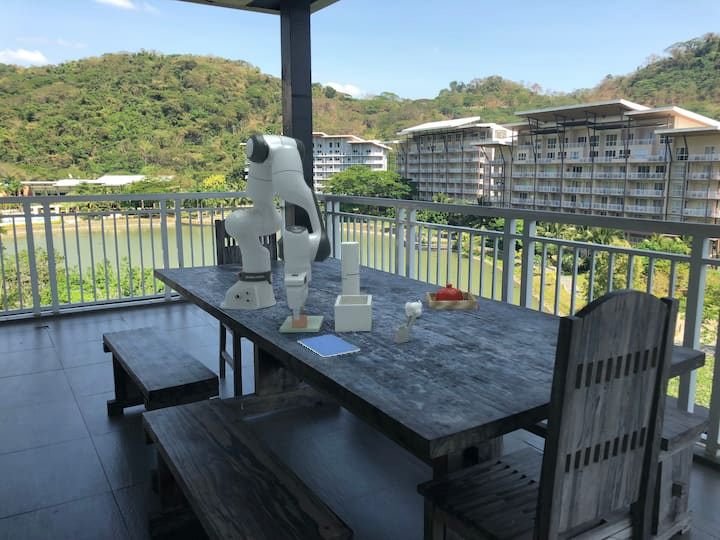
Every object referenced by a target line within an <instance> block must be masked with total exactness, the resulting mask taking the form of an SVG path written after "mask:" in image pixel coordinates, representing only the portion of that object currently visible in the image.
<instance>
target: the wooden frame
mask: <svg viewBox="0 0 720 540" xmlns="http://www.w3.org/2000/svg"><path fill="white" fill-rule="evenodd" d="M437 292H438V291H437ZM437 292H436V291H435V292H434V291H429V292H428V291H427V292H425V301H426V304H427V303H428V304H427V306H429V307H428V310H478V308H479V306H478V305H479V301H478V300H477V298H476V297H475V295H474V294H473V292H472V291H462V295H463V299H468V300H467V301H435V299H436V294H437Z"/></svg>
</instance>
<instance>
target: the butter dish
mask: <svg viewBox="0 0 720 540" xmlns="http://www.w3.org/2000/svg"><path fill="white" fill-rule="evenodd" d="M445 286H446V287H443V288H441V289H439V290H438V291H437V294H436V299H435V300H434V301H468V300H463V295H462V292H463V291H462V290H461V289H460V288H457V287H456V288H455V287H453V283H447V284H445Z"/></svg>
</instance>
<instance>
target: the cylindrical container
mask: <svg viewBox="0 0 720 540" xmlns="http://www.w3.org/2000/svg"><path fill="white" fill-rule="evenodd" d="M340 254H341V255H340V256H341V258H340V259H341V260H340V261H341V262H340V264H341V293H342V294H341V295H361V293H360V292H361V290H360V289H361V287H360V283H361V282H360V279H361V278H360V245H359V242H358V241H344V242H343V241H342V242H340Z"/></svg>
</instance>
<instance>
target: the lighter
mask: <svg viewBox="0 0 720 540" xmlns="http://www.w3.org/2000/svg"><path fill="white" fill-rule="evenodd" d="M416 319H417V317H415V316H413V315H409V317H408V318H407V321H406V324H405V325H404V324H401V325H398V327H397V328H395V329H394V341H395V342H394V343H395V344H397V343H398V345H399V344H404V343H408V342H409V329H411V330H412V329H413V327H414V325H415V321H416Z"/></svg>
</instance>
